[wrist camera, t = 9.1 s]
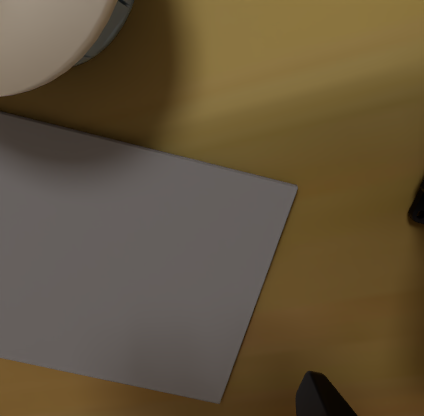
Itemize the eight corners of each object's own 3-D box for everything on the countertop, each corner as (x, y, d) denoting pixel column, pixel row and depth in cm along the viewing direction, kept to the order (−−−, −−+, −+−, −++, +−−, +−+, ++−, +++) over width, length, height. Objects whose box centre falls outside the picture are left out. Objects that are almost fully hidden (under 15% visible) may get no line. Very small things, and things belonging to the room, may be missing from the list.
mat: (296, 185, 19) (297, 187, 19) (219, 398, 26) (219, 404, 25) (-18, 106, 18) (-24, 107, 18) (-13, 348, 25) (-18, 354, 24)
